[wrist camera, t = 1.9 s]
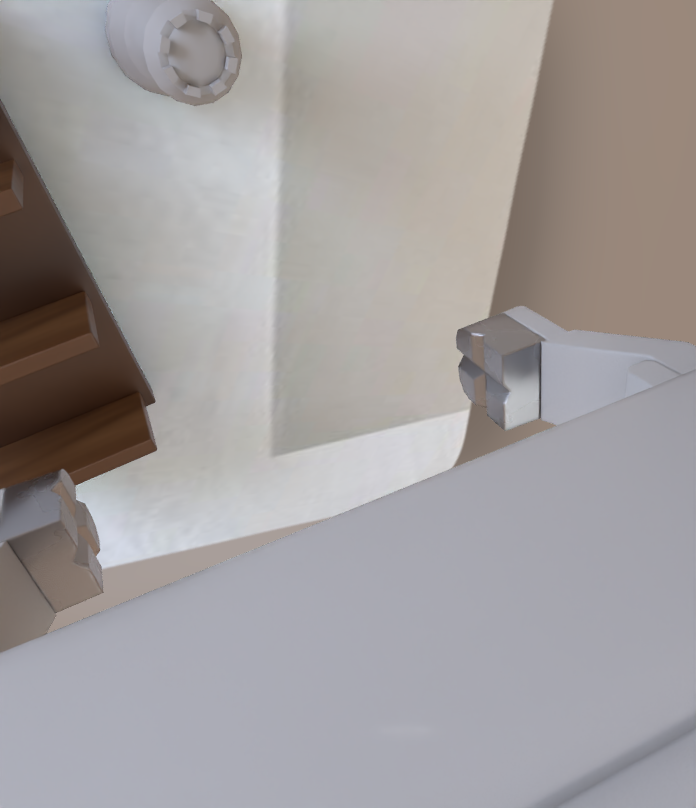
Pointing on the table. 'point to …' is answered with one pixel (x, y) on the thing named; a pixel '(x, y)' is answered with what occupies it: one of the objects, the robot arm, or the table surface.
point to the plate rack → (58, 343)
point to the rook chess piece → (175, 47)
